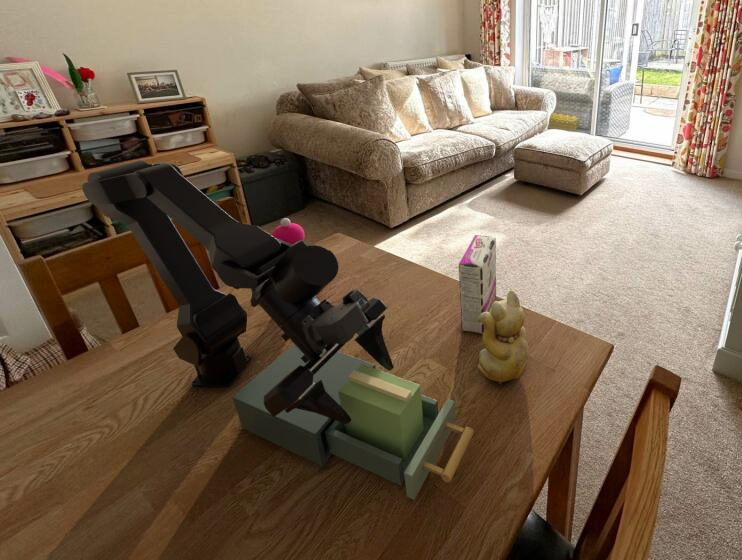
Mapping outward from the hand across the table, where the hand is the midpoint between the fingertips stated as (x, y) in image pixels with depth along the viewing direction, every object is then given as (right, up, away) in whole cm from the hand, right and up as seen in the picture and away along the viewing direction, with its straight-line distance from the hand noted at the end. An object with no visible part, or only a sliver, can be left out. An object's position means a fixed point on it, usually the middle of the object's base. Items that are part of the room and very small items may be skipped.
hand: (371, 393), depth 57 cm
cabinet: (-12, -7, +7) cm, 15 cm away
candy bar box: (+13, +1, +29) cm, 32 cm away
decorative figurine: (+19, -4, +16) cm, 25 cm away
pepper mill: (-27, +4, +32) cm, 42 cm away
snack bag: (+1, -7, +2) cm, 7 cm away
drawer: (+4, -8, +1) cm, 10 cm away
